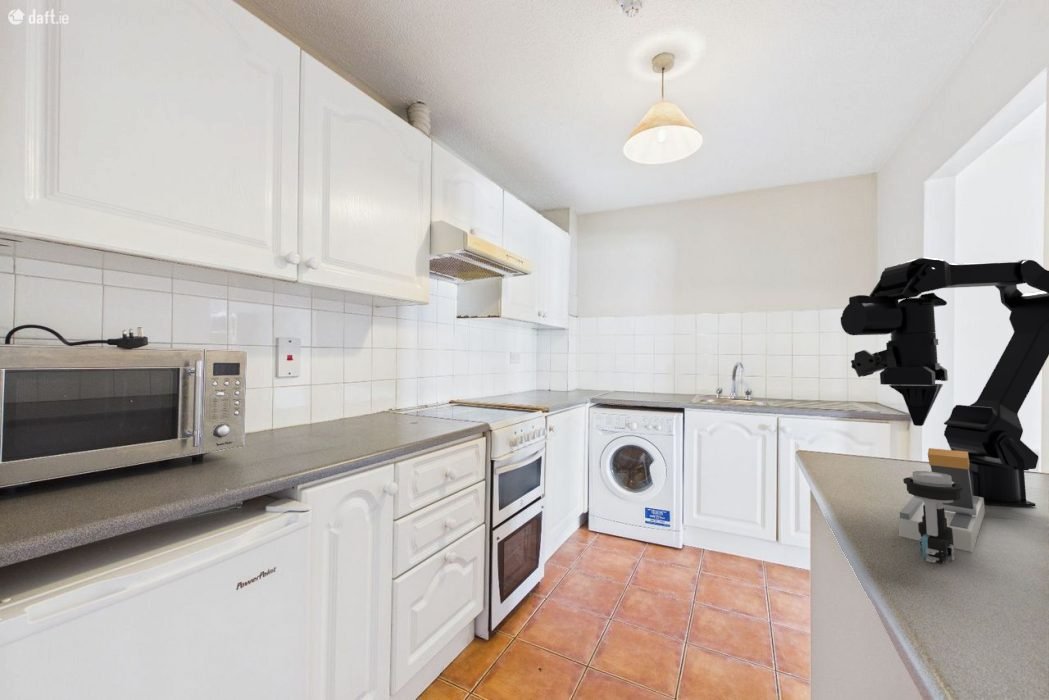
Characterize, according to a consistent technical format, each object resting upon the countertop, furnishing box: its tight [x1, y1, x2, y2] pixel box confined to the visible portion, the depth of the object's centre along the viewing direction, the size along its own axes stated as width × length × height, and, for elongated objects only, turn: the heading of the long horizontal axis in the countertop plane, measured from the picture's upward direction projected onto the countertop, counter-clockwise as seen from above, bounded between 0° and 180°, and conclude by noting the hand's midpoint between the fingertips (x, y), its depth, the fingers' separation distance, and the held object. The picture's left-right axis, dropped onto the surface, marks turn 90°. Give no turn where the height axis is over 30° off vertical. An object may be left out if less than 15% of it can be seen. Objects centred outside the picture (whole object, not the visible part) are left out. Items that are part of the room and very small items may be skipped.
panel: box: [897, 495, 986, 553], centre depth 63 cm, size 20×7×3 cm, turn 130°
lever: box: [927, 447, 977, 516], centre depth 59 cm, size 2×4×10 cm, turn 42°
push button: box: [902, 470, 963, 564], centre depth 52 cm, size 7×5×10 cm
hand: (918, 425), depth 72 cm, fingers closed
